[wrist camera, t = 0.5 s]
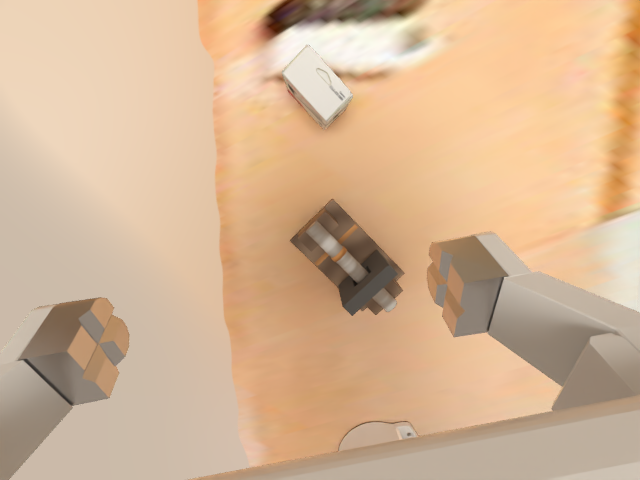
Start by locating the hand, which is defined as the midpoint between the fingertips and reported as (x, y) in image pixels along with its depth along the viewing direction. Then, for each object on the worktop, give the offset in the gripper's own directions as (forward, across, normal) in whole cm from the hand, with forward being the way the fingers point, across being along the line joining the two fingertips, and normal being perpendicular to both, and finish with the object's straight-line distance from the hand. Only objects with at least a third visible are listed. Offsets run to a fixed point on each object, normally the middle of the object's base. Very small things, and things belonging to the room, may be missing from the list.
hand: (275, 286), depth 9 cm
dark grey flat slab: (+36, +9, -34) cm, 50 cm away
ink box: (+51, +6, -9) cm, 52 cm away
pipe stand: (+40, +8, -32) cm, 52 cm away
